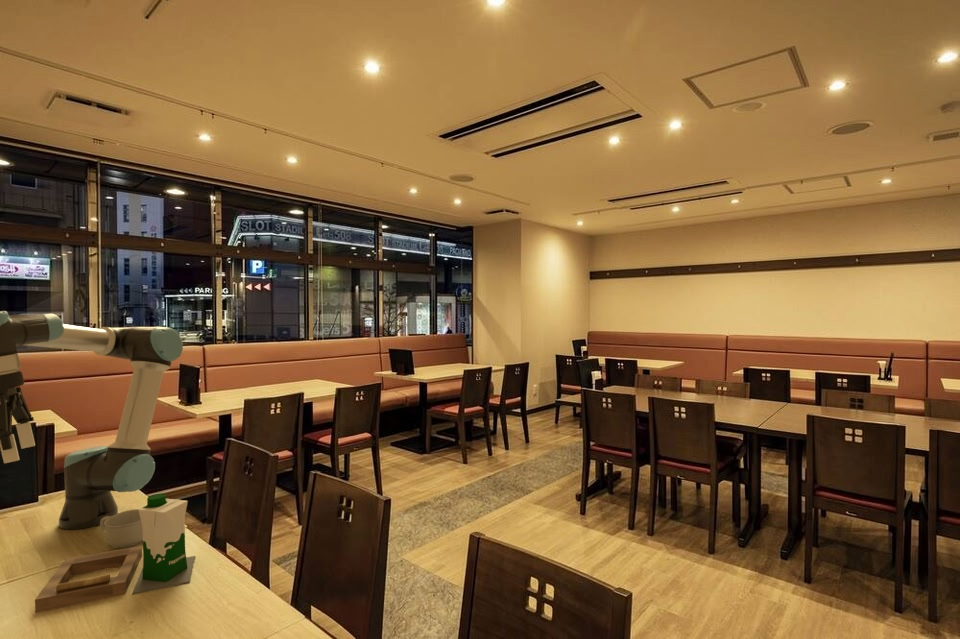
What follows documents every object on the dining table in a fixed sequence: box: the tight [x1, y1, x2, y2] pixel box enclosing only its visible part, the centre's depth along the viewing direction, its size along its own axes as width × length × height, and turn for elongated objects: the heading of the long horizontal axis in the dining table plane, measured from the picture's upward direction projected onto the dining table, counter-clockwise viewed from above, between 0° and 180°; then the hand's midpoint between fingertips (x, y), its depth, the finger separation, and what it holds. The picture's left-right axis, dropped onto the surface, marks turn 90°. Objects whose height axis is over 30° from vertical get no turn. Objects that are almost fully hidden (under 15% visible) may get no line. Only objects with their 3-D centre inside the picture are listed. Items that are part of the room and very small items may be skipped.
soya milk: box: [138, 493, 189, 582], centre depth 128 cm, size 9×9×20 cm
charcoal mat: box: [131, 555, 196, 595], centre depth 128 cm, size 14×12×1 cm
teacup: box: [99, 508, 143, 549], centre depth 146 cm, size 14×11×8 cm
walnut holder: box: [34, 545, 143, 613], centre depth 125 cm, size 20×17×5 cm
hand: (20, 454), depth 127 cm, fingers open, 13 cm apart
